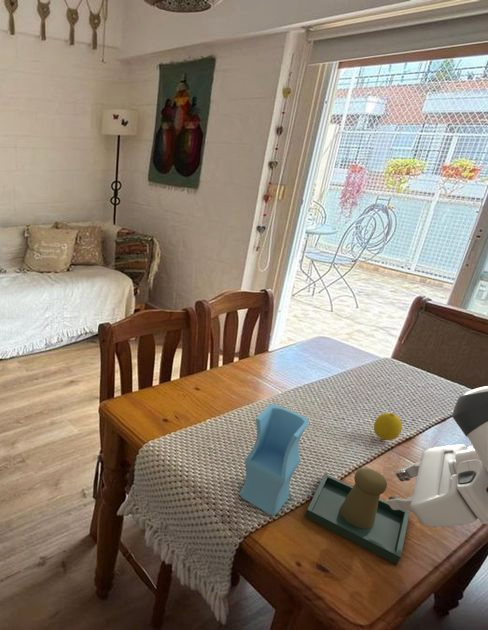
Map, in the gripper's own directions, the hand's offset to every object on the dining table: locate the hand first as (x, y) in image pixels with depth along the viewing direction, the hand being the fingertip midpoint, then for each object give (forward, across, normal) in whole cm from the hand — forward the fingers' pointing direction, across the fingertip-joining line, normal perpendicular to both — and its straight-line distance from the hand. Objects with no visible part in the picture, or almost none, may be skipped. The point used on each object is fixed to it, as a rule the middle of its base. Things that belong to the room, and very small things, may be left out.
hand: (394, 489), depth 83 cm
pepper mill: (+10, +1, +4) cm, 10 cm away
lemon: (+10, -32, +4) cm, 34 cm away
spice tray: (+10, 0, +4) cm, 11 cm away
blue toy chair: (+21, +8, -7) cm, 23 cm away
